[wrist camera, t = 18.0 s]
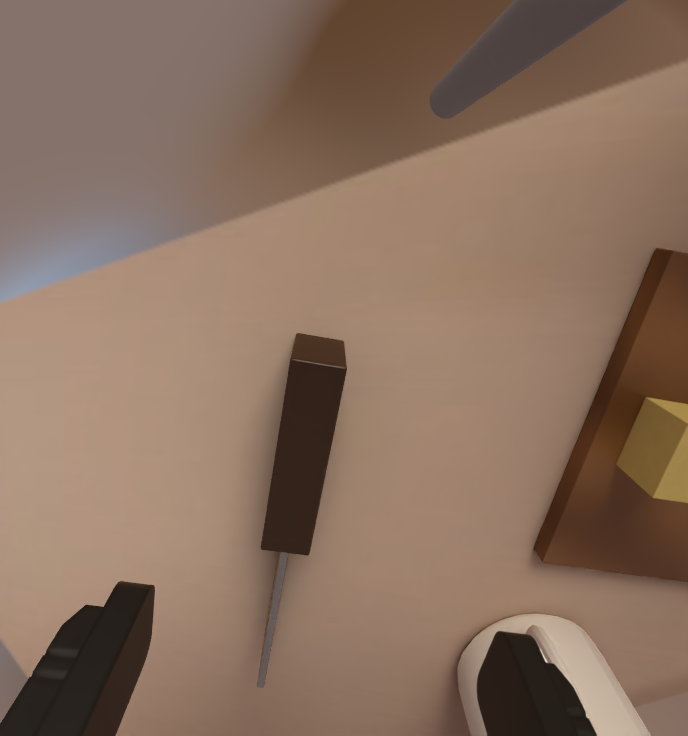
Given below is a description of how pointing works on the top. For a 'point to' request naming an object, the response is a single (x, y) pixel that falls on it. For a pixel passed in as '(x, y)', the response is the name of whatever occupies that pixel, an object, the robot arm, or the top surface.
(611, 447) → the board
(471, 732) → the mug
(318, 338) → the knife
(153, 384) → the top surface
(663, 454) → the butter slice
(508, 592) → the top surface
